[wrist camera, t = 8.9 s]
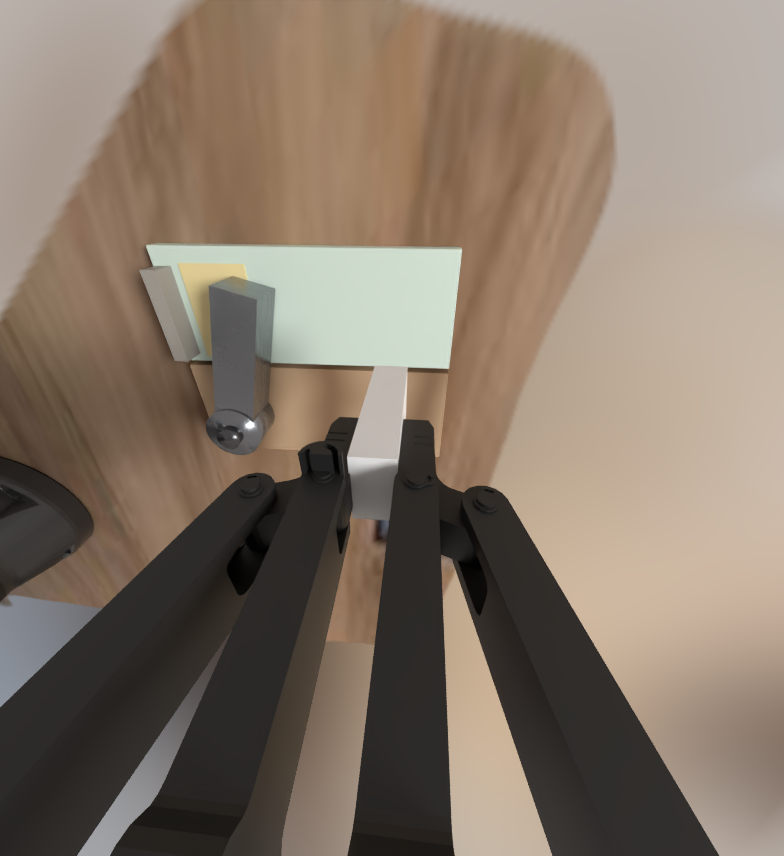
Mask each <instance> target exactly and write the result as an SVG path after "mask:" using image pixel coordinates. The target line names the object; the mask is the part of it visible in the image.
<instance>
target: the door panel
mask: <svg viewBox="0 0 784 856" xmlns="http://www.w3.org/2000/svg"><path fill="white" fill-rule="evenodd" d="M146 247H147V250H148V253H149V255H150V258H151V261H152V264H153V267H149V268H145V269H141V270H139V271H140V273H141V276H142V278H143V281H144V284H145V286H146V289H147V291H148V294H149V296H150V299H151V301H152V304H153V307H154V309H155V312H156V314H157V317H158V319H159V322H160V324H161V327H162V329H163V332H164V335H165V337H166V340H167V342H168V345H169V347H170V350H171V352H172V355H173V358H174V360H175V361H187V362H188V361H190V360H201V361H212V344H211V323H210V303H209V285H211V284H214V283H216V282H219V281H221V280H224V279H226V278H229V277H231V276H235V277H238V278H241V279H245V280H248V281H252V282H255V283H258V284H262V285H265V286H269V287H272V288H275V305H274V321H273V337H272V353H271V363H291V364H321V365H352V366H375V365H377V366H402V367H412V368H442V369H449V363H450V354H451V345H452V336H453V327H454V317H455V308H456V299H457V290H458V281H459V272H460V263H461V254H462V249H461V248H460V247H416V246H340V245H264V244H189V243H155V244H149V245H146Z"/></svg>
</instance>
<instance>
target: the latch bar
mask: <svg viewBox="0 0 784 856" xmlns="http://www.w3.org/2000/svg"><path fill="white" fill-rule="evenodd" d="M209 303H210V323H211V344H212V364H213V385H214V405H215V412H214V413H213V414H212V415H211V416H210V417H209V419H208V420H207V423H206V430H207V433H208V435H209V437H210V439H211V440H212V441H213V442H214V443H215V444H216V445H217V446H218V447H219V448H221V449H223V450H224V451H226V452H229V453H232V454H236V455H246V454H250V453H252V452H254V451H255V450H256V449H257V447H258V446H259V444H260V443H261V441H262V440H263V438H264V437H265V435H266V434H267V432H268V431H269V429H270V428H271V426H272V425H273V423H274V419H275V415H274V411H273V408H272V406H271V405H270V404H269V402H268V401H269V385H270V369H271V353H272V337H273V321H274V305H275V288H272V287H269V286H265V285H262V284H258V283H255V282H252V281H248V280H245V279H241V278H238V277H235V276H231V277H229V278H226V279H224V280H221V281H219V282H216V283H214V284H211V285H209Z"/></svg>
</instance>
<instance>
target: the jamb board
mask: <svg viewBox="0 0 784 856" xmlns="http://www.w3.org/2000/svg"><path fill="white" fill-rule="evenodd" d="M190 367H191V370H192V373H193V375H194V378H195V381H196V383H197V386H198V389H199V392H200V394H201V397H202V400H203V402H204V405H205V408H206V411H207V413H208V416H209V417H210V416H211V415H212V414H213V413H214V412H215V405H214V385H213V364H212V361H201V360H196V361H194V362H193V363H192V364H190ZM374 367H375V366H352V365H321V364H291V363H271V369H270V385H269V401H268V402H269V404H270V405H271V406H272V408H273V411H274V415H275V419H274V423H273V425H272V426H271V428H270V429H269V431H268V432H267V434H266V435H265V437H264V438H263V440H262V441H261V443H260V444H259V446H258V447H257V448H265V449H286V450H301V449H302V448H303V447H304V446H306V445H308V444H310V443H313V442H317V441H324V440H325V438H326V435H327V434H328V431H329V428H330V426H331V424H332V423H333V422H334V421H335V420H336V419H338V418H339V417H354V418H359V416H360V413H361V409H362V406H363V403H364V400H365V396H366V393H367V390H368V387H369V383H370V380H371V377H372V374H373V370H374ZM447 381H448V369H442V368H412V367H408V370H407V399H406V419H412V420H429V422H430V423H431V425H432V426H433V427H434V440H435V457H439V453H440V444H441V435H442V426H443V417H444V408H445V399H446V390H447Z"/></svg>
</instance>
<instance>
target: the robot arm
mask: <svg viewBox="0 0 784 856" xmlns="http://www.w3.org/2000/svg"><path fill="white" fill-rule="evenodd" d="M407 370H408V367H402V366H377V365H375V367H374V370H373V374H372V377H371V380H370V383H369V387H368V390H367V393H366V396H365V400H364V403H363V406H362V409H361V413H360V416H359V418H354V417H339V418H338V419H336V420H335V421H334V422H333V423H332V424H331V426H330V428H329V431H328V434H327V435H326V438H325V440H324V441H317V442H313V443H310V444H308V445H306V446H304V447H303V448H302V449H301V450H300V451H299V452H298V456H299V461H300V466H301V471H302V475H301V477H299V478H297V479H293V480H289V481H283V482H278V483H275V482H274V480H273V479H272V477H271V476H269V475H267V474H264V473H253V474H248V475H246V476H243V477H241V478H239V479H238V480H236V481H235V482H233V483H232V484H231V485H230V486H229V487H228V488H227V489H226V490H225V491H224V492H223V493H222V494H221V495H220V496H219V497H218V498H217V499H216V500H215V501H214V502H213V503H212V504H210V505H209V506H208V507H207V508H206V509H205V510H204V511H203V512H202V513H201V514H200V515H199V516H198V517H197V518H196V519H195V520H194V521H193V522H192V523H191V524H190V525H189V526H188V527H187V528H186V529H185V530H184V531H183V532H181V533H180V534H179V535H178V536H177V537H176V538H175V539H174V540H173V541H172V542H171V543H170V544H169V545H168V546H167V547H166V548H165V549H164V550H163V551H162V552H161V553H160V554H159V555H158V556H157V557H156V558H155V559H154V560H152V561H151V562H150V563H149V564H148V565H147V566H146V567H145V568H144V569H143V570H142V571H141V572H140V573H139V574H138V575H137V576H136V577H135V578H134V579H133V580H132V581H131V582H130V583H129V584H128V585H127V586H126V587H125V588H123V589H122V590H121V591H120V592H119V593H118V594H117V595H116V596H115V597H114V598H113V599H112V600H111V601H110V602H109V603H108V604H107V605H106V606H105V607H104V608H103V609H102V610H101V611H100V612H99V613H98V614H97V615H96V616H95V617H93V618H92V619H91V620H90V621H89V622H88V623H87V624H86V625H85V626H84V627H83V628H82V629H81V630H80V631H79V632H78V633H77V634H76V635H75V636H74V637H73V638H72V639H71V640H70V641H69V642H68V643H67V644H65V645H64V646H63V647H62V648H61V649H60V650H59V651H58V652H57V653H56V654H55V655H54V656H53V657H52V658H51V659H50V660H49V661H48V662H47V663H46V664H45V665H44V666H43V667H42V668H41V669H40V670H39V671H38V672H37V673H35V674H34V676H32V677H31V678H30V679H29V680H28V681H27V682H26V683H25V684H24V685H23V686H22V687H21V688H20V689H19V690H18V691H17V692H16V693H15V694H14V695H13V696H12V697H11V698H10V699H9V700H8V701H6V703H4V704H3V705H2V706H1V707H0V856H77V855H78V853H79V852H80V850H81V849H82V847H83V846H84V844H85V843H86V842H87V840H88V838H89V837H90V836H91V834H92V833H93V831H94V830H95V828H96V827H97V826H98V824H99V823H100V821H101V820H102V818H103V817H104V815H105V814H106V812H107V811H108V809H109V808H110V807H111V805H112V804H113V802H114V801H115V799H116V798H117V796H118V795H119V793H120V792H121V790H122V789H123V787H124V786H125V785H126V783H127V781H128V780H129V779H130V777H131V776H132V774H133V773H134V771H135V770H136V769H137V767H138V766H139V764H140V762H141V761H142V760H143V758H144V757H145V755H146V754H147V752H148V751H149V750H150V748H151V747H152V745H153V744H154V742H155V740H156V739H157V738H158V736H159V735H160V733H161V732H162V731H163V729H164V728H165V726H166V725H167V723H168V722H169V720H170V719H171V717H172V716H173V714H174V713H175V711H176V710H177V709H178V707H179V706H180V704H181V703H182V701H183V700H184V698H185V697H186V695H187V694H188V693H189V691H190V690H191V688H192V687H193V685H194V684H195V682H196V681H197V679H198V678H199V676H200V675H201V673H202V672H203V670H204V669H205V668H206V666H207V665H208V663H209V662H210V660H211V659H212V657H213V656H214V655H215V653H216V652H217V650H218V649H219V647H220V646H221V644H222V643H223V641H224V640H225V639H226V637H227V635H228V634H229V633H230V631H231V630H232V632H231V634H230V636H229V638H228V641H227V643H226V645H225V647H224V649H223V652H222V654H221V656H220V658H219V661H218V663H217V665H216V667H215V670H214V672H213V674H212V677H211V679H210V681H209V683H208V685H207V688H206V690H205V692H204V694H203V696H202V699H201V701H200V703H199V705H198V708H197V710H196V712H195V714H194V717H193V719H192V721H191V723H190V726H189V728H188V730H187V732H186V734H185V737H184V739H183V741H182V743H181V746H180V748H179V750H178V753H177V755H176V757H175V759H174V761H173V763H172V766H171V768H170V770H169V773H168V775H167V777H166V779H165V781H164V783H163V785H162V787H161V789H160V791H159V793H158V795H157V796H156V798H155V799H154V801H153V802H152V804H151V805H150V806H149V807H148V808H147V809H146V810H145V811H144V812H143V813H142V814H141V815H140V816H139V817H138V818H137V819H136V820H135V821H134V822H133V823H132V824H131V825H130V826H129V827H128V829H127V830H126V832H125V833H124V834H123V836H122V837H121V839H120V840H119V842H118V843H117V844H116V846H115V848H114V849H113V851H112V853H111V855H110V856H281V847H282V836H283V829H284V824H285V819H286V815H287V810H288V806H289V801H290V797H291V793H292V788H293V784H294V779H295V775H296V770H297V766H298V761H299V757H300V753H301V748H302V744H303V739H304V734H305V730H306V725H307V721H308V717H309V712H310V708H311V704H312V699H313V694H314V690H315V686H316V681H317V677H318V672H319V668H320V663H321V659H322V655H323V650H324V646H325V641H326V637H327V632H328V628H329V623H330V619H331V614H332V610H333V606H334V601H335V597H336V592H337V588H338V583H339V579H340V574H341V570H342V566H343V561H344V557H345V552H346V548H347V543H348V539H349V534H350V521H349V520H350V516H351V511H352V515H353V518H358V519H372V520H387V521H389V528H388V536H387V545H386V553H385V562H384V570H383V579H382V587H381V596H380V605H379V613H378V622H377V630H376V639H375V647H374V656H373V665H372V673H371V681H370V690H369V698H368V707H367V716H366V724H365V733H364V741H363V750H362V758H361V767H360V775H359V776H360V777H359V784H358V792H357V801H356V809H355V817H354V824H353V831H352V836H351V841H350V846H349V851H348V856H455V855H454V848H453V839H452V825H451V804H450V803H451V802H450V776H449V751H448V726H447V701H446V677H445V676H446V675H445V650H444V624H443V598H442V573H441V555H444V556H446V557H449V558H452V559H453V564H454V567H455V570H456V572H457V575H458V578H459V581H460V584H461V587H462V590H463V593H464V596H465V599H466V602H467V605H468V608H469V611H470V614H471V617H472V620H473V623H474V625H475V628H476V631H477V634H478V637H479V640H480V643H481V646H482V649H483V652H484V655H485V658H486V661H487V664H488V667H489V670H490V673H491V676H492V679H493V682H494V685H495V687H496V690H497V693H498V696H499V699H500V702H501V705H502V708H503V711H504V713H505V717H506V720H507V723H508V725H509V729H510V731H511V734H512V738H513V740H514V743H515V746H516V749H517V752H518V755H519V758H520V761H521V764H522V767H523V770H524V773H525V776H526V779H527V782H528V785H529V788H530V791H531V793H532V797H533V799H534V802H535V805H536V808H537V811H538V814H539V817H540V820H541V823H542V826H543V829H544V832H545V835H546V838H547V841H548V844H549V847H550V850H551V853H552V856H719V855H718V853H717V851H716V850H715V848H714V846H713V845H712V843H711V841H710V840H709V838H708V836H707V834H706V833H705V831H704V830H703V828H702V826H701V824H700V823H699V821H698V819H697V818H696V816H695V814H694V812H693V811H692V809H691V807H690V806H689V804H688V802H687V801H686V799H685V797H684V796H683V794H682V792H681V791H680V789H679V787H678V785H677V784H676V782H675V780H674V779H673V777H672V775H671V774H670V772H669V770H668V769H667V767H666V765H665V764H664V762H663V760H662V759H661V757H660V755H659V753H658V752H657V750H656V748H655V747H654V745H653V743H652V742H651V740H650V738H649V737H648V735H647V733H646V732H645V730H644V728H643V726H642V725H641V723H640V721H639V720H638V718H637V716H636V715H635V713H634V711H633V710H632V708H631V706H630V705H629V703H628V701H627V700H626V698H625V696H624V695H623V693H622V691H621V689H620V688H619V686H618V684H617V683H616V681H615V679H614V678H613V676H612V674H611V673H610V671H609V669H608V667H607V666H606V664H605V662H604V661H603V659H602V657H601V656H600V654H599V652H598V651H597V649H596V647H595V646H594V644H593V642H592V640H591V639H590V637H589V635H588V634H587V632H586V630H585V629H584V627H583V625H582V624H581V622H580V620H579V619H578V617H577V615H576V614H575V612H574V610H573V609H572V607H571V605H570V603H569V602H568V600H567V598H566V597H565V595H564V593H563V592H562V590H561V588H560V587H559V585H558V583H557V582H556V580H555V578H554V576H553V575H552V573H551V571H550V570H549V568H548V566H547V565H546V563H545V561H544V560H543V558H542V556H541V555H540V553H539V551H538V549H537V548H536V546H535V544H534V543H533V541H532V539H531V538H530V536H529V535H528V533H527V531H526V529H525V528H524V526H523V524H522V523H521V521H520V519H519V517H518V516H517V514H516V513H515V511H514V509H513V507H512V506H511V504H510V503H509V501H508V499H507V498H506V497H505V496H504V495H503V494H502V493H501V492H499V491H498V490H496V489H494V488H491V487H488V486H475V487H471V488H469V489H468V490H466V491H465V492H464V493H463V492H460V491H457V490H454V489H451V488H449V487H447V486H446V485H444V484H443V483H442V482H441V481H440V480H439V479H438V477H437V475H436V468H435V440H434V427H433V426H432V425H431V423H430V422H429V420H412V419H406V399H407ZM92 533H93V522H92V519H91V517H90V515H89V513H88V511H87V510H86V509H85V507H84V506H83V505H82V504H81V503H80V501H79V500H78V499H77V498H76V497H74V496H73V495H72V494H71V493H70V492H69V491H67V490H66V489H65V488H63V487H62V486H61V485H59V484H58V483H56V482H55V481H53V480H52V479H50V478H48V477H46V476H45V475H43V474H41V473H39V472H37V471H35V470H33V469H31V468H29V467H26V466H24V465H21V464H19V463H16V462H13V461H10V460H7V459H3V458H0V602H1V601H2V600H3V599H4V598H5V597H6V596H7V595H8V594H9V593H10V592H11V591H13V590H14V589H15V588H17V587H19V586H20V585H22V584H24V583H25V582H27V581H29V580H30V579H32V578H34V577H35V576H37V575H39V574H40V573H42V572H44V571H45V570H47V569H49V568H50V567H52V566H53V565H55V564H57V563H58V562H60V561H61V560H63V559H65V558H67V557H68V556H70V555H72V554H73V553H74V552H76V551H77V550H78V549H79V548H80V547H81V546H82V545H83V544H84V543H85V542H86V541H87V540H88V539H89V538H90V536H91V535H92ZM232 628H233V629H232Z"/></svg>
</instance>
